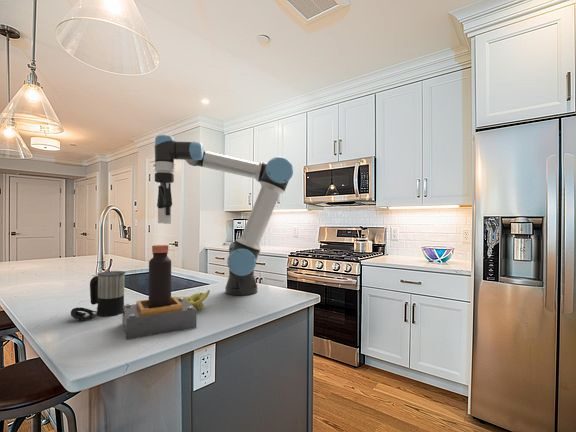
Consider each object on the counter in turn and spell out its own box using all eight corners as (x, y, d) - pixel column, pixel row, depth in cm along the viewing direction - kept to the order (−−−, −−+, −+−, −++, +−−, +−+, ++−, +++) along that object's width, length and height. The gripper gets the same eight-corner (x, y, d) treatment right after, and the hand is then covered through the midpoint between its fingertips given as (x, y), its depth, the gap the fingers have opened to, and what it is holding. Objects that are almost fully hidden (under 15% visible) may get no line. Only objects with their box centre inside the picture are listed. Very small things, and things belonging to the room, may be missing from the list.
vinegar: (164, 310, 100) (164, 246, 101) (144, 310, 101) (144, 246, 102) (174, 305, 107) (175, 244, 107) (155, 304, 108) (156, 244, 108)
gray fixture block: (184, 314, 116) (184, 294, 116) (196, 327, 103) (196, 304, 103) (122, 324, 106) (122, 301, 106) (126, 339, 92) (126, 313, 92)
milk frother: (130, 309, 123) (130, 270, 124) (106, 322, 108) (106, 278, 108) (93, 309, 124) (93, 270, 124) (63, 322, 108) (64, 278, 108)
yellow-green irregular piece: (153, 304, 122) (167, 287, 131) (160, 319, 125) (173, 302, 134) (199, 304, 117) (211, 287, 126) (205, 320, 120) (216, 302, 129)
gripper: (150, 175, 145) (150, 223, 144) (159, 168, 123) (159, 223, 123) (168, 176, 149) (167, 223, 148) (180, 169, 127) (179, 223, 127)
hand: (164, 223), depth 136 cm, fingers open, 13 cm apart
